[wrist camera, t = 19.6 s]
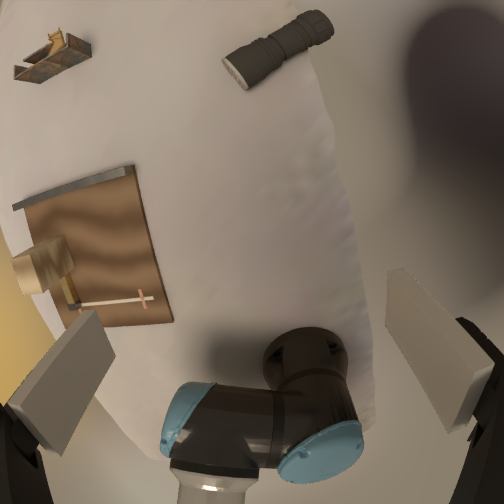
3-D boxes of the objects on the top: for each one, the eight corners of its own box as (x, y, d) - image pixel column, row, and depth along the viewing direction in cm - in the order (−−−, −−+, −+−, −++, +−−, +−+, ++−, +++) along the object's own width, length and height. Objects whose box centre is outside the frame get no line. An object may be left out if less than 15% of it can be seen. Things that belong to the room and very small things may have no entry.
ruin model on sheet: (91, 42, 34) (60, 26, 25) (92, 57, 35) (60, 43, 26) (40, 69, 35) (5, 61, 26) (41, 84, 36) (5, 78, 27)
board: (174, 320, 49) (168, 332, 46) (67, 326, 51) (58, 336, 47) (134, 164, 41) (123, 166, 37) (24, 200, 42) (12, 204, 39)
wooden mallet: (88, 305, 48) (60, 334, 38) (68, 306, 48) (40, 334, 39) (65, 234, 44) (29, 254, 34) (45, 239, 44) (10, 259, 34)
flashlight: (309, 15, 33) (316, 0, 28) (332, 41, 34) (342, 29, 29) (223, 65, 36) (219, 54, 31) (246, 93, 38) (245, 85, 32)
